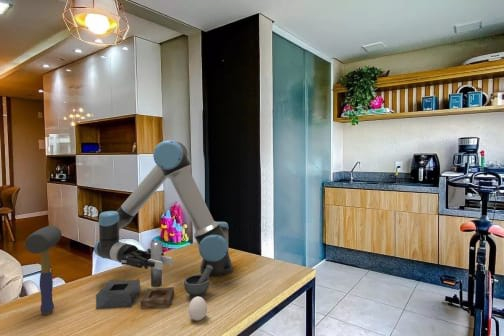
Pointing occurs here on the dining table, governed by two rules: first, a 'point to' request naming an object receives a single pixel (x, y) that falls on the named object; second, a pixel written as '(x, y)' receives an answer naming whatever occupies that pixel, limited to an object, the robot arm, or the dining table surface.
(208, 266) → the mortar and pestle
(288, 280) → the dining table surface
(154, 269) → the brushed metal peg
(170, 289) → the wooden square tray
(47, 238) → the rubber mallet
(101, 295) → the socket
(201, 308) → the egg
